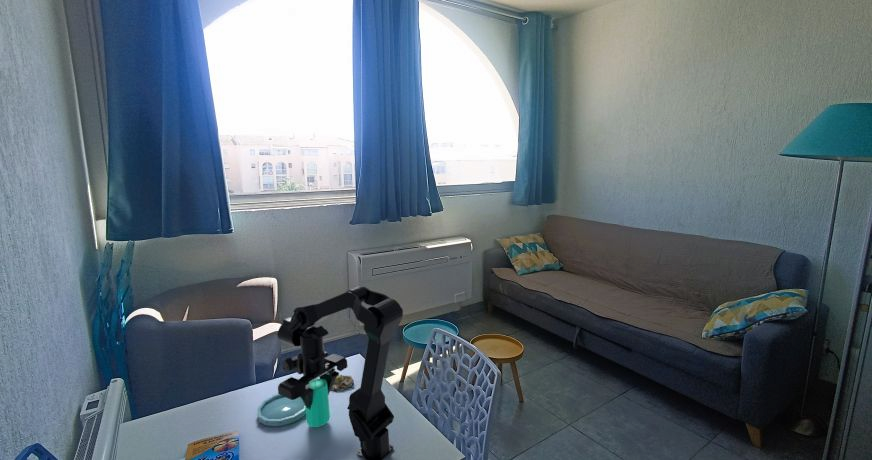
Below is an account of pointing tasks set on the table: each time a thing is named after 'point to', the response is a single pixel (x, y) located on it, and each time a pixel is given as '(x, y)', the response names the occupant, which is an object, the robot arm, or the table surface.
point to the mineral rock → (342, 383)
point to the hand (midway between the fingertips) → (317, 404)
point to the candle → (318, 404)
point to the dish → (280, 411)
